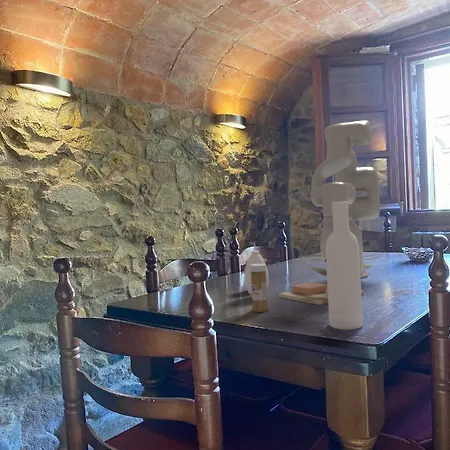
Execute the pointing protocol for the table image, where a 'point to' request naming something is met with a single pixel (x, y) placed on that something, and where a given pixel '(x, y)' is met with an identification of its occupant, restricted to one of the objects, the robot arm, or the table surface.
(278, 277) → the table surface
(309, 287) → the tile
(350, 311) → the bottle
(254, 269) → the sprinkles bottle
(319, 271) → the scraper
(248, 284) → the sauce bottle
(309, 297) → the board
